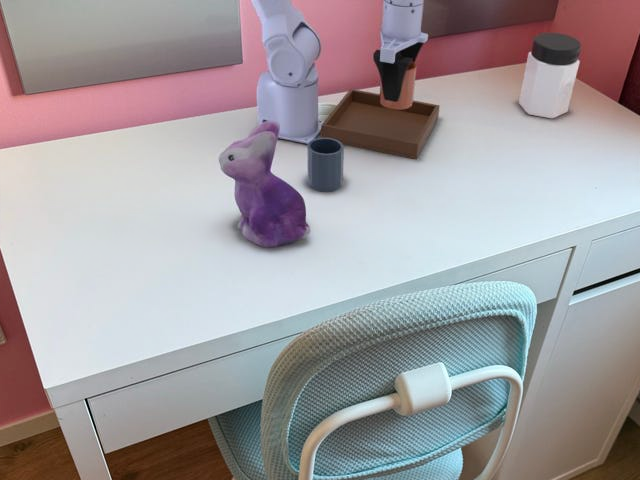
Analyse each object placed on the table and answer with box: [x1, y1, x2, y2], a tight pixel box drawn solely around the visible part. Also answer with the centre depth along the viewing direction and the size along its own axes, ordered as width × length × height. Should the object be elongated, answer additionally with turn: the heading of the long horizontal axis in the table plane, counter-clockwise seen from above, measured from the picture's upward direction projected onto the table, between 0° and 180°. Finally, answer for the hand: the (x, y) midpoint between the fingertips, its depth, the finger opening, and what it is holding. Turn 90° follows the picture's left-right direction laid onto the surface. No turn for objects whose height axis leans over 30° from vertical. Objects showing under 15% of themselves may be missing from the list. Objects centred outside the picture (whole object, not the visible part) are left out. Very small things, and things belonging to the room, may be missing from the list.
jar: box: [518, 32, 582, 120], centre depth 129 cm, size 9×8×12 cm
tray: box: [320, 88, 440, 160], centre depth 122 cm, size 16×15×3 cm
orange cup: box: [379, 61, 417, 110], centre depth 112 cm, size 5×5×6 cm
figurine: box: [218, 121, 311, 248], centre depth 94 cm, size 9×10×15 cm
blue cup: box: [306, 137, 345, 193], centre depth 107 cm, size 5×5×6 cm
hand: (396, 92), depth 113 cm, fingers closed on orange cup, 5 cm apart
